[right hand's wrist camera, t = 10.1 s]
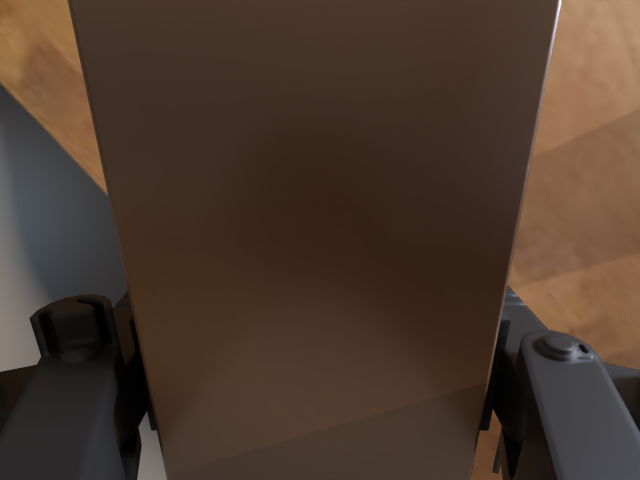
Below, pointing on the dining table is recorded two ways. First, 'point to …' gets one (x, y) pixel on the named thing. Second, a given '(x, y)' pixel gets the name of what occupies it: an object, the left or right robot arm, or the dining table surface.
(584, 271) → the dining table surface
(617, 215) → the dining table surface
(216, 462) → the beam
